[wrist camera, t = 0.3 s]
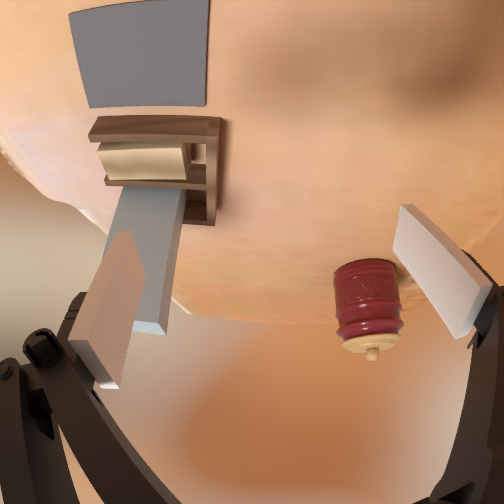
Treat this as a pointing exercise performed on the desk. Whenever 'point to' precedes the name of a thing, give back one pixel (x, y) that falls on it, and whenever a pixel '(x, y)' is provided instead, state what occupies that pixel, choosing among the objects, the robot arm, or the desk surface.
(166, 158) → the offcut top
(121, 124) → the rack
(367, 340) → the canister
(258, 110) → the desk surface
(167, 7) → the mat
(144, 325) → the pale blue thick slab
